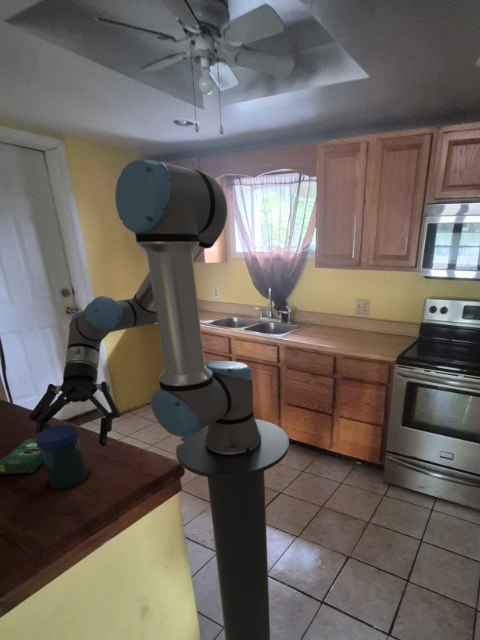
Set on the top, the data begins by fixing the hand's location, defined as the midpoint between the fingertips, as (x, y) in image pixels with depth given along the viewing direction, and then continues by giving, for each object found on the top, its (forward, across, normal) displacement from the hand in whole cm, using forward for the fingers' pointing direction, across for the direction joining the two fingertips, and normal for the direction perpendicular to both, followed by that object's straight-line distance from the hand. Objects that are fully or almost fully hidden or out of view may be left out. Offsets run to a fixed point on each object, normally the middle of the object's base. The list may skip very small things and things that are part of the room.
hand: (72, 446), depth 89 cm
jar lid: (-1, 0, -8) cm, 8 cm away
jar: (+8, 0, 0) cm, 8 cm away
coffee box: (-5, -12, +12) cm, 18 cm away
